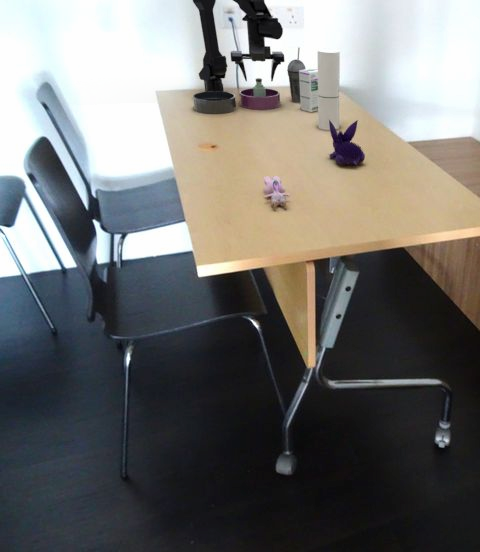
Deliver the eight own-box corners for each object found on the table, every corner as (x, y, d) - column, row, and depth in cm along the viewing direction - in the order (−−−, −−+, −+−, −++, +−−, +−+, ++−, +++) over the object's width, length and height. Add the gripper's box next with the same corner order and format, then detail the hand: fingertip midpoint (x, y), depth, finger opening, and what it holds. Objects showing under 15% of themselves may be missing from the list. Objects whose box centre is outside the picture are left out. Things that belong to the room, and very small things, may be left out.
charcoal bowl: (185, 111, 202) (183, 96, 200) (213, 103, 214) (211, 89, 211) (218, 118, 198) (217, 103, 195) (244, 109, 209) (243, 95, 207)
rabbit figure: (293, 213, 137) (282, 181, 148) (293, 192, 133) (282, 161, 144) (267, 215, 135) (258, 183, 146) (266, 194, 131) (257, 162, 142)
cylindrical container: (340, 125, 199) (341, 49, 186) (337, 131, 193) (337, 53, 180) (320, 123, 199) (320, 48, 187) (316, 129, 193) (315, 51, 181)
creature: (347, 149, 177) (347, 110, 170) (370, 169, 163) (372, 127, 157) (320, 152, 173) (319, 112, 167) (342, 172, 159) (342, 129, 153)
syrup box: (311, 112, 211) (310, 72, 204) (299, 109, 214) (298, 69, 207) (321, 110, 215) (321, 70, 208) (310, 106, 218) (309, 67, 211)
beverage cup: (286, 99, 226) (283, 45, 216) (303, 98, 229) (302, 45, 218) (291, 103, 220) (289, 49, 210) (309, 102, 223) (308, 49, 213)
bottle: (252, 105, 213) (250, 79, 208) (259, 102, 216) (257, 77, 211) (261, 107, 211) (260, 80, 206) (268, 104, 215) (267, 78, 210)
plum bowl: (232, 107, 211) (231, 93, 208) (256, 99, 222) (255, 86, 220) (265, 113, 206) (264, 99, 203) (287, 105, 218) (287, 91, 215)
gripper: (229, 38, 192) (233, 86, 200) (284, 40, 197) (286, 86, 205) (228, 33, 202) (232, 79, 209) (282, 35, 206) (283, 79, 214)
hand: (259, 81), depth 209 cm, fingers open, 9 cm apart
